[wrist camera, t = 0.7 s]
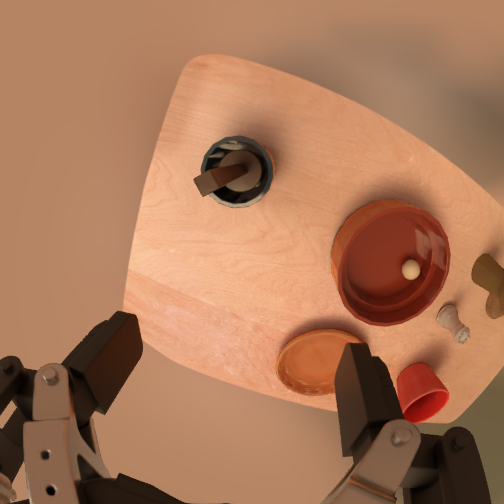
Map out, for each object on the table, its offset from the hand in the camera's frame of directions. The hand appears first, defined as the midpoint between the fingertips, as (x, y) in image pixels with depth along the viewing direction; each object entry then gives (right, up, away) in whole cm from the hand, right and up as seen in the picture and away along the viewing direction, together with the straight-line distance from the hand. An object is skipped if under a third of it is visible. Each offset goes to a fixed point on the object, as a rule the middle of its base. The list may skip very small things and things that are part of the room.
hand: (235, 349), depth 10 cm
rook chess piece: (+36, -8, +30) cm, 48 cm away
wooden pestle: (0, +15, +25) cm, 29 cm away
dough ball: (+24, +1, +26) cm, 35 cm away
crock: (0, +15, +26) cm, 30 cm away
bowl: (+20, +3, +28) cm, 35 cm away
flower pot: (+34, -22, +36) cm, 54 cm away
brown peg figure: (+43, +1, +26) cm, 50 cm away
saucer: (+13, -15, +36) cm, 41 cm away
